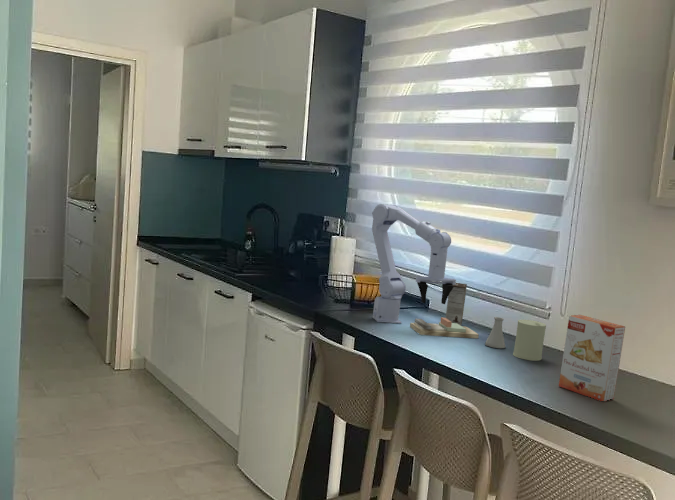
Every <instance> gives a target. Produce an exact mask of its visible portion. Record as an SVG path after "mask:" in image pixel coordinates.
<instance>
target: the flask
mask: <svg viewBox="0 0 675 500" xmlns="http://www.w3.org/2000/svg"><path fill="white" fill-rule="evenodd" d="M503 321H504V318H503V317H499V316H495V317H494V323H493V327H492V329H491V331H490V333H489V335H488V337H487V339H486V341H485V343H484V345H485V346H487V347H490V348H494V349H500V350H501V349H505V348H506V343H505V337H504V332H503Z"/></svg>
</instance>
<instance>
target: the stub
mask: <svg viewBox="0 0 675 500" xmlns="http://www.w3.org/2000/svg"><path fill="white" fill-rule="evenodd" d="M438 325H440V326H441V327H443V328H444V329H446V331H452V332H466V329H465V328H464V327H462V324H461V325H459V324H457V323H452V322H451V321H449V320H448V319H446V317H440V321H439V322H438Z"/></svg>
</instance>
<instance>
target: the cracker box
mask: <svg viewBox="0 0 675 500" xmlns="http://www.w3.org/2000/svg"><path fill="white" fill-rule="evenodd" d="M568 317H569V318H568V321H567V329H566V335H565V342H564V348H563V355H562V362H561V368H560V376H559V382H558V387H560V388H562V389H565V390H568V391H571V392H574V393H576V394H579V395H582V396H585V397H587V396H588V398H590V397H591V399H593V398H594V399H593V400H596V399H597V400H596V401H599V400H600V401H599V402H601V401H605V402H608V401H607V400H609V401H611V400H610V399H613V400H614V399H615V395H616V394H615V393H616V387H617V380H618V375H619V371H620V370H619V369H620V362H621V356H622V351H623V342H624V338H625V332H626V325H625V326H624V325H622V324H617V323H613V322H609V321H605V320H602V319H597V318H594V317H591V316H587V315H582V314H572V315H571V314H570V315H569V316H568Z"/></svg>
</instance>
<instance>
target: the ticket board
mask: <svg viewBox="0 0 675 500" xmlns="http://www.w3.org/2000/svg"><path fill="white" fill-rule="evenodd" d="M461 326H462V325H461ZM409 327H410V329H412V330H413V331H414V332H416V333H419V334H418V335H420V336H432V337H435V336H436V337H447V338H448V337H449V338H463V339H465V338H466V339H479V333H478V332H476V331H475V330H472V329H471V328H470V327H467V326H466V325H465V326H462V327H464V328H465V329H466V332H452V331H446V329H444V328H443V327H441V326H440V325H439V323H430V322H426V320H424V319H422V318H415V319H414V322H410V323H409Z"/></svg>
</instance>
